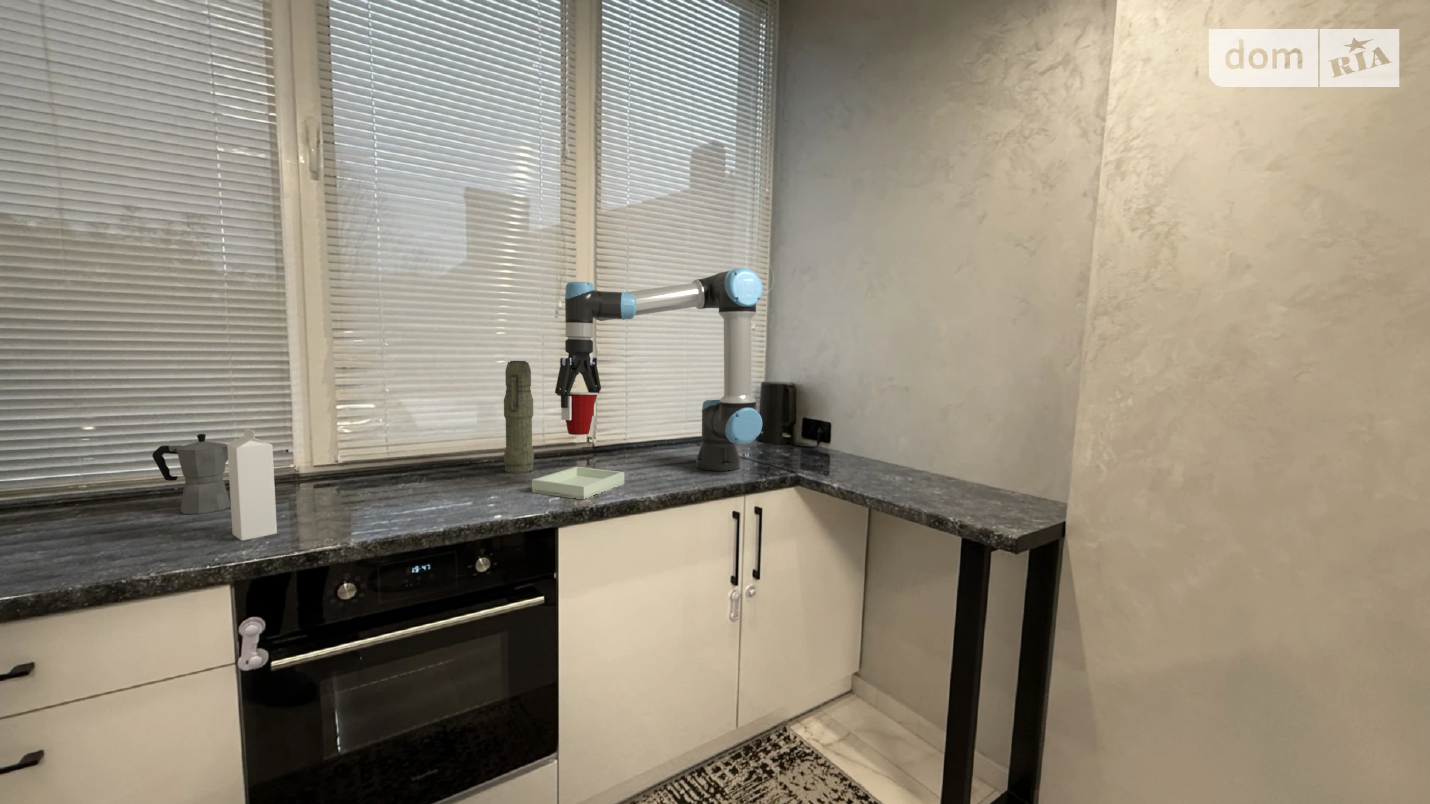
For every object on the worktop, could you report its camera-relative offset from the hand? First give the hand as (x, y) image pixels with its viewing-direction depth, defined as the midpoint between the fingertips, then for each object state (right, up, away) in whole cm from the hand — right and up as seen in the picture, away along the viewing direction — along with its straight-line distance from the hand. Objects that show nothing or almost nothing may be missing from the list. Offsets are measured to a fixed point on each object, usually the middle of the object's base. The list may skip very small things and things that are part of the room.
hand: (579, 417), depth 163 cm
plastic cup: (0, -5, +1) cm, 5 cm away
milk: (-57, -23, -42) cm, 75 cm away
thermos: (-24, -18, +23) cm, 38 cm away
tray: (0, -20, +2) cm, 20 cm away
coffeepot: (-83, -21, -26) cm, 90 cm away
